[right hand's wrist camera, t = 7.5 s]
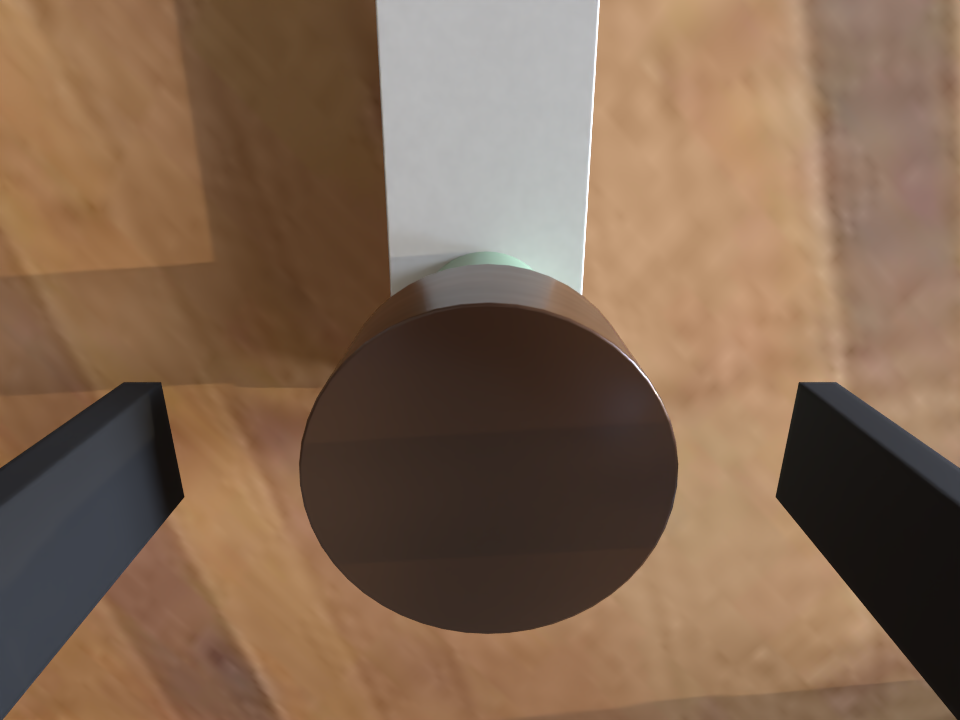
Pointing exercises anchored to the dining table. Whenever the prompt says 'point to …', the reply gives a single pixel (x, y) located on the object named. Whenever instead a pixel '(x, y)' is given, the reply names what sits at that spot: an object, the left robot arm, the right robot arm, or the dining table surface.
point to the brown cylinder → (488, 454)
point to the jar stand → (486, 133)
